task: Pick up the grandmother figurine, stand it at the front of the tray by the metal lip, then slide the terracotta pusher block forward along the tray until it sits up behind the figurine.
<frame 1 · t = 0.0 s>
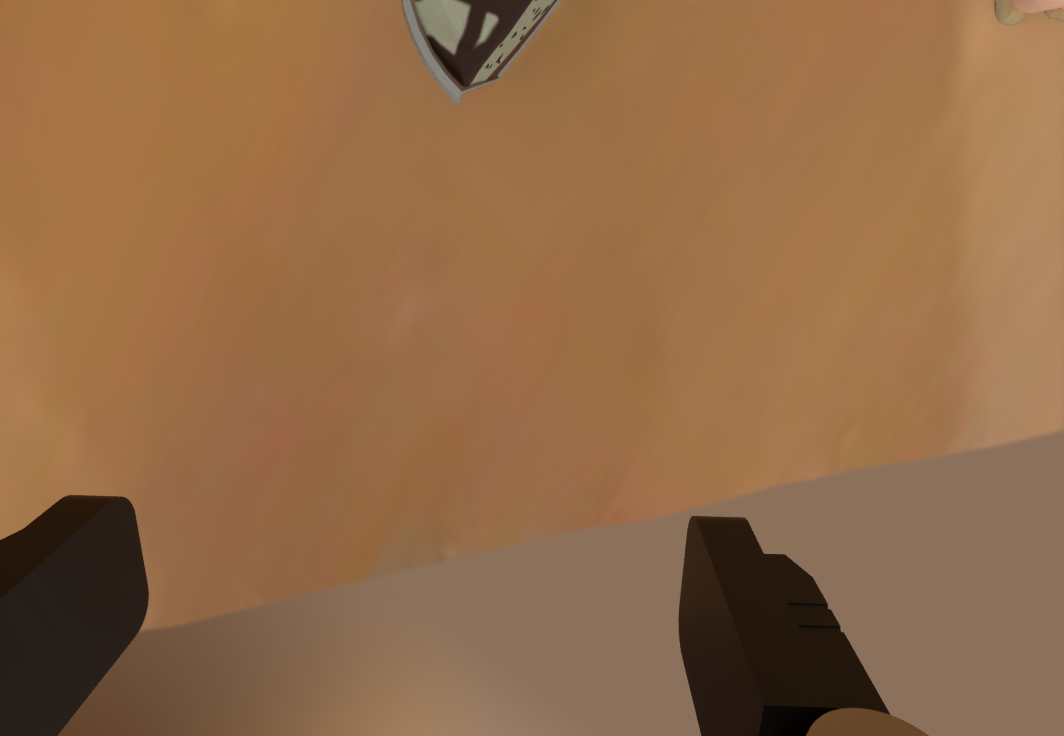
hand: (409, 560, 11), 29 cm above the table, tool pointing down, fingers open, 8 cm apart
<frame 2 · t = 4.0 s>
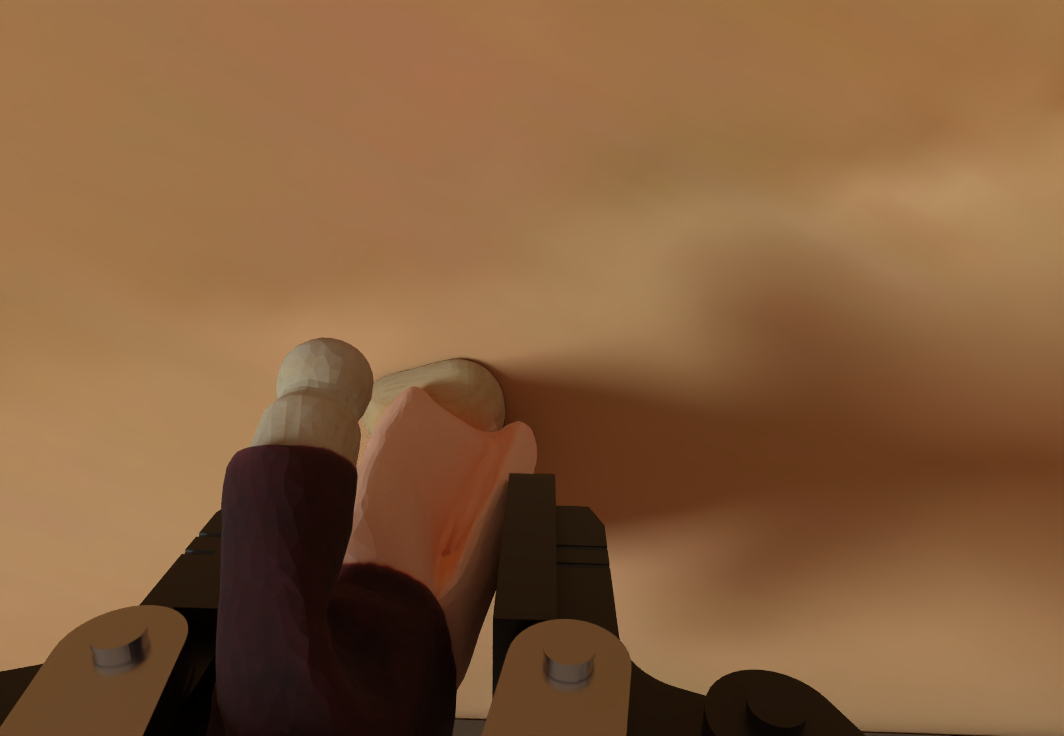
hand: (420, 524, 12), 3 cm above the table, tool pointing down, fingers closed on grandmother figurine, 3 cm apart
grandmother figurine: (442, 435, 15), on the table, touching gripper
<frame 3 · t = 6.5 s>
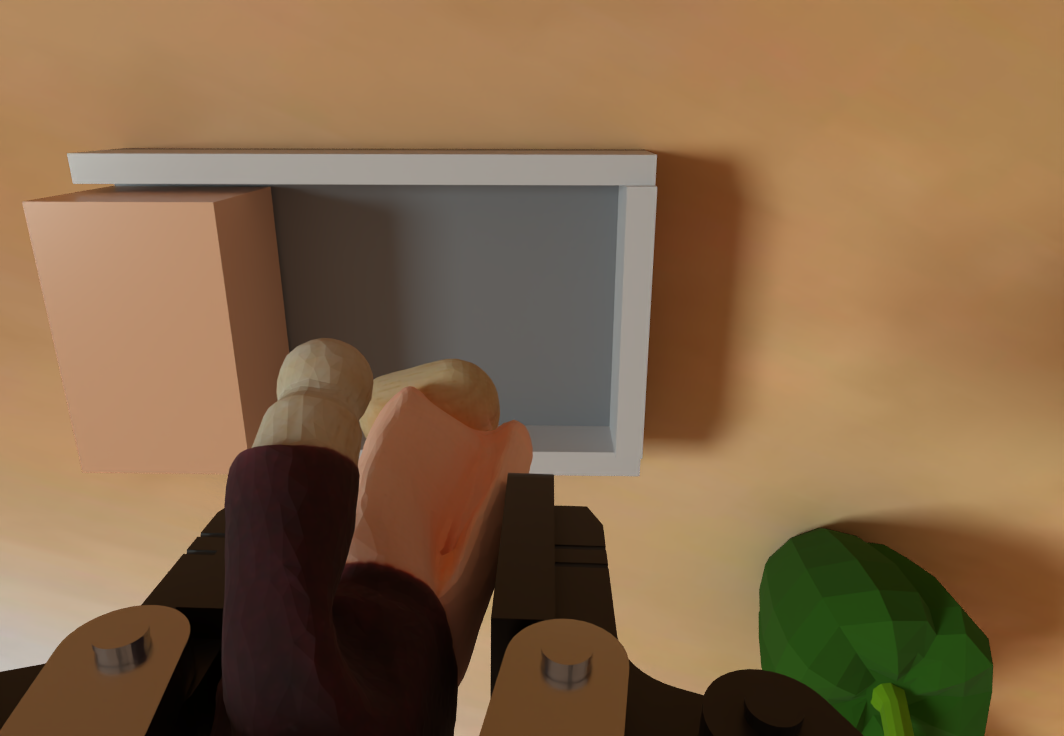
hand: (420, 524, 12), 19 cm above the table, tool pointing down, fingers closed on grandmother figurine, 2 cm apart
grandmother figurine: (437, 435, 15), point 16 cm above the table, touching gripper
tray: (391, 301, 30), on the table
bell pepper: (816, 575, 34), on the table
pusher: (179, 325, 27), point 4 cm above the table, slide at 0.0 cm
when the fingers open (6 cm above the table, at t = 9.5 s): grandmother figurine drops 1 cm, resting on tray.
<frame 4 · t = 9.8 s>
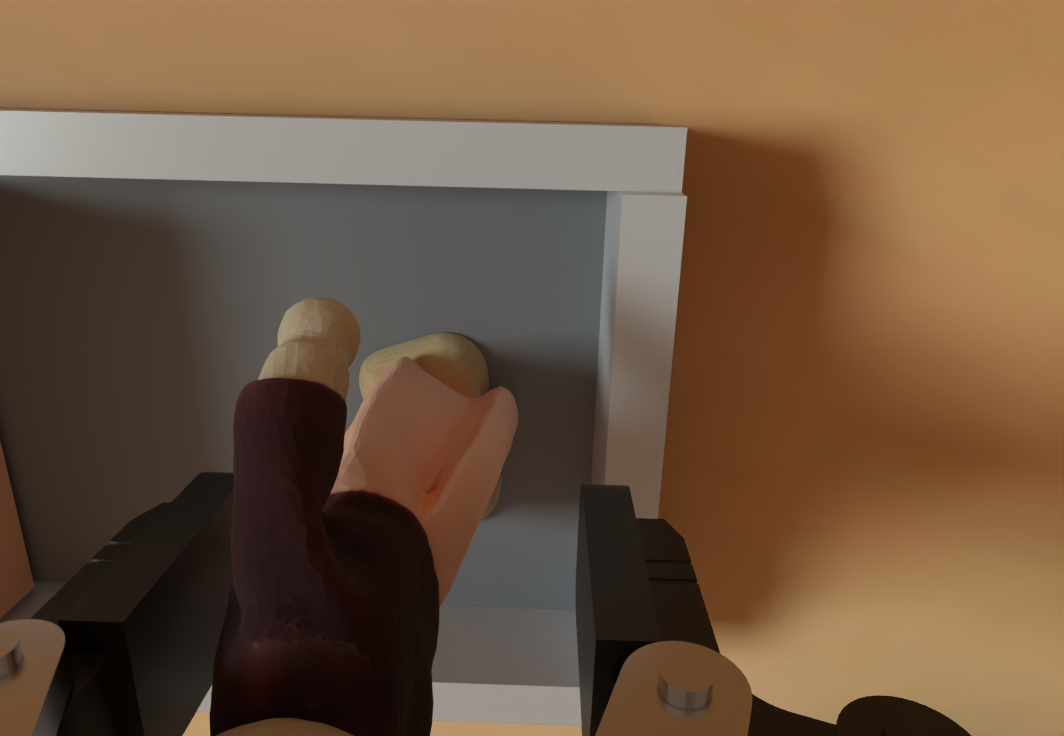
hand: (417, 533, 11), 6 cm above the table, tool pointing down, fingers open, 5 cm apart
grandmother figurine: (433, 404, 16), point 1 cm above the table, touching tray
tray: (200, 387, 17), on the table
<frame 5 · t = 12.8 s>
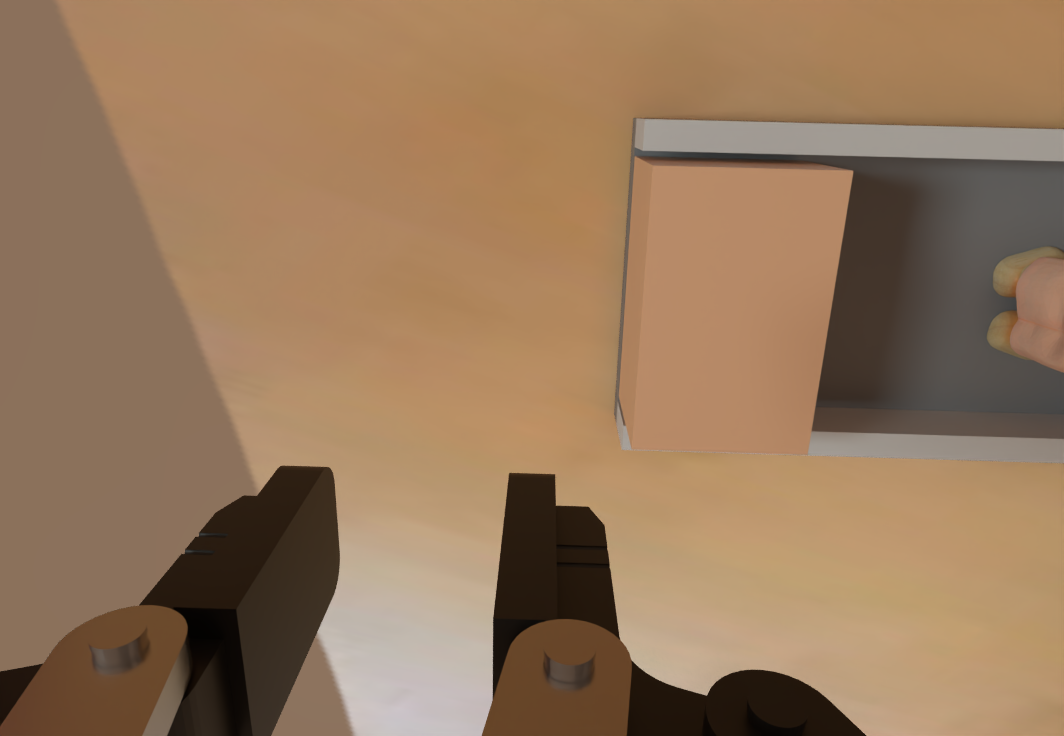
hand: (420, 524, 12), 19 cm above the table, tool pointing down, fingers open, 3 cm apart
grandmother figurine: (1025, 289, 29), point 1 cm above the table, touching tray
tray: (874, 282, 29), on the table
pusher: (718, 300, 26), point 4 cm above the table, slide at 0.0 cm
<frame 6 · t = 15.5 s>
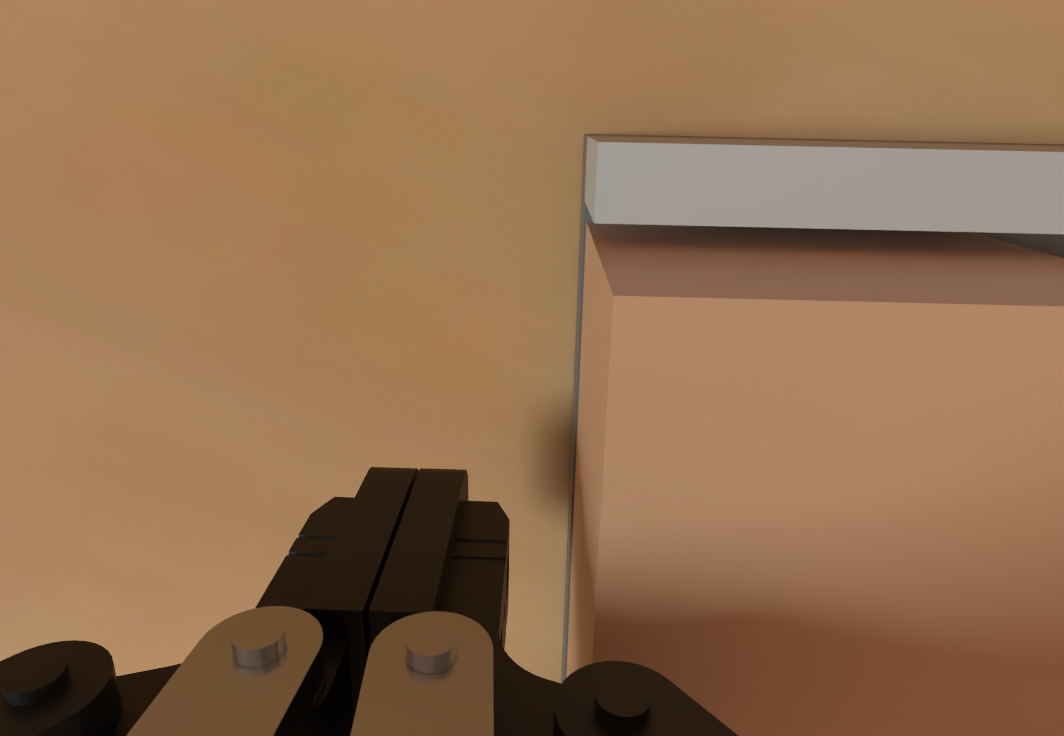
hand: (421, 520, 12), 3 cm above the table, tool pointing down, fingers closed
pusher: (784, 572, 11), point 4 cm above the table, slide at 0.0 cm, touching gripper
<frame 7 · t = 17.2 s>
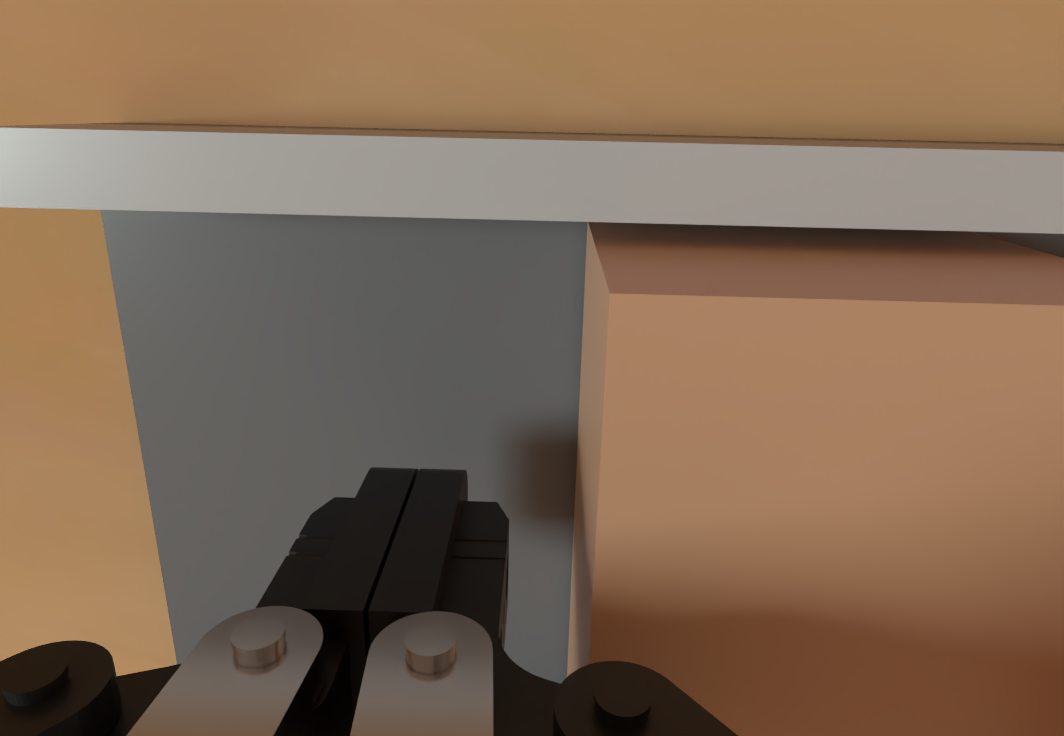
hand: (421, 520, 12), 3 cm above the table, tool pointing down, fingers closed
tray: (675, 457, 14), on the table
pusher: (782, 569, 11), point 4 cm above the table, slide at 8.0 cm, touching grandmother figurine, gripper
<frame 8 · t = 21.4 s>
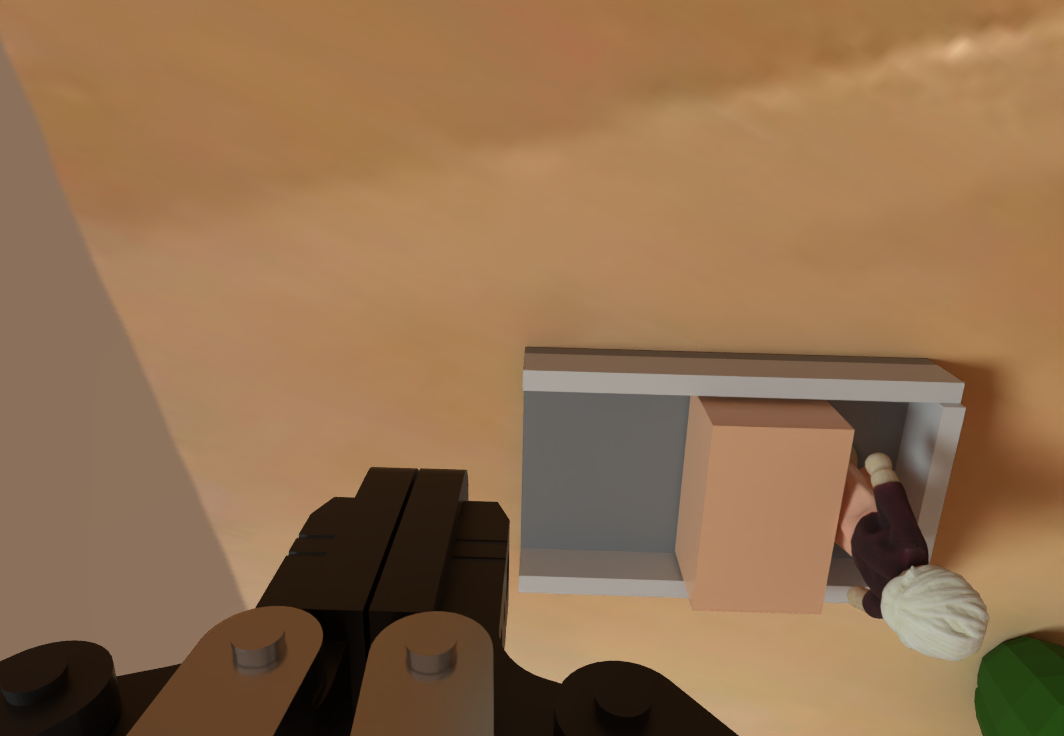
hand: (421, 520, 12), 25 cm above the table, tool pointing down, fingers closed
grandmother figurine: (828, 470, 38), point 1 cm above the table, touching tray
tray: (713, 461, 39), on the table
bell pepper: (1015, 670, 43), on the table
pusher: (754, 496, 35), point 4 cm above the table, slide at 8.2 cm
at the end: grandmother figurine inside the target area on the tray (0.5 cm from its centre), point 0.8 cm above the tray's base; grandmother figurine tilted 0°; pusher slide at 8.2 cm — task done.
